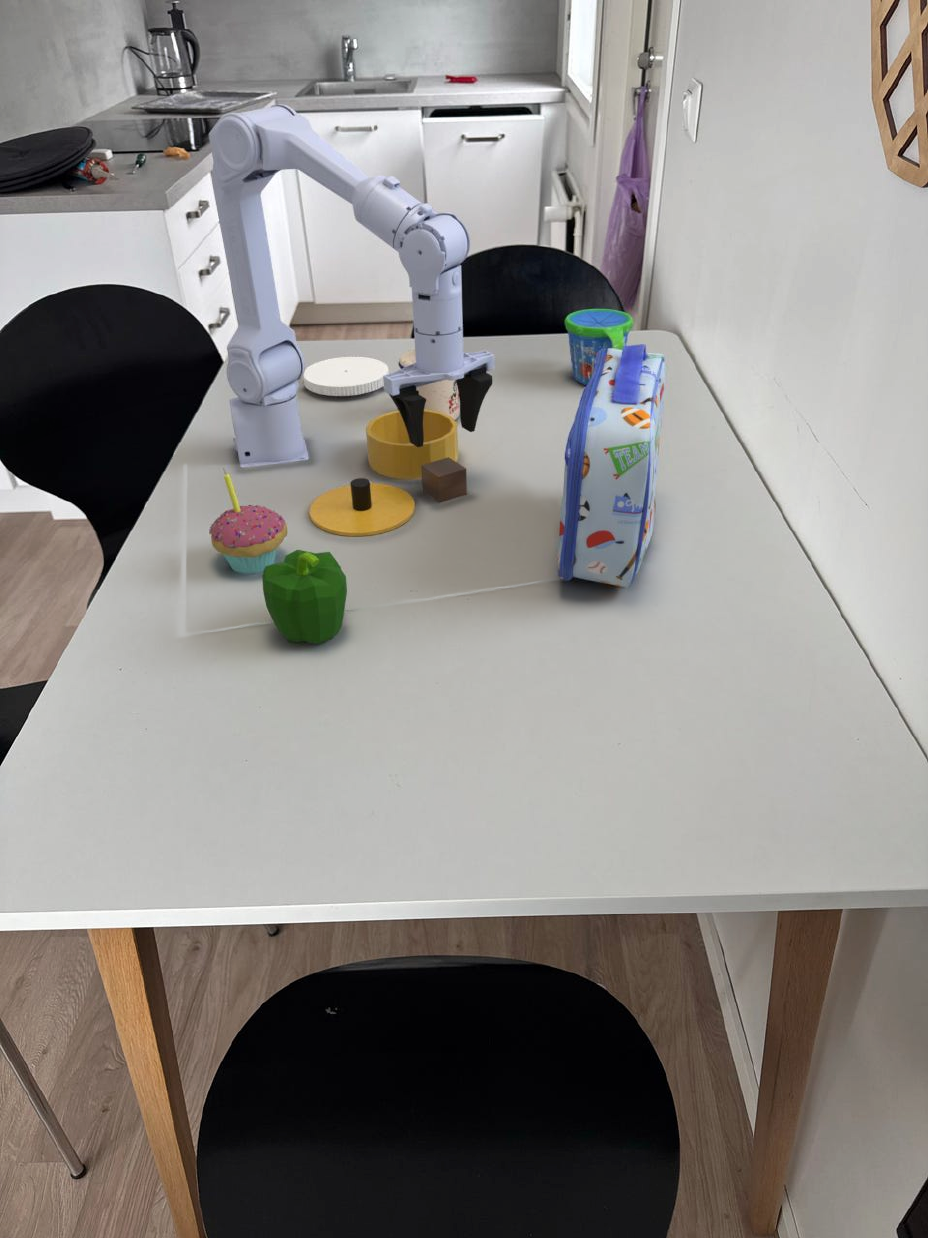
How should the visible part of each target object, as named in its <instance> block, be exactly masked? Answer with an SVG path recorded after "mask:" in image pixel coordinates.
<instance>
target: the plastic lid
mask: <svg viewBox="0 0 928 1238" xmlns="http://www.w3.org/2000/svg"><path fill="white" fill-rule="evenodd" d="M387 374H390V369H389V366H388V365H387V364H386V363H385V362H384V361H382V360H379V359H376V358H372V357H365V356H340V357H333V358H329V359H322V360H320V361H317V362H314V363H312V364H310V365H309V366H307V367H305V371H304V374H303V376H302V378H303V379H302V380H303V385H304V387H305V389H307V390H308V391H310V392H312V393H315V394H318V395H321V396H322V395H324V396H331V397H333V396H334V397H337V396H338V397H349V396H357V395H363V394H367V393H371V392H374V391H377V390H379V389H382V387H384V382H383V375H387Z"/></svg>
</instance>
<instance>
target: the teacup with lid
mask: <svg viewBox="0 0 928 1238" xmlns="http://www.w3.org/2000/svg"><path fill="white" fill-rule="evenodd" d="M415 362H416V358H415V348H414V349H412V350H409V351H406V352H404V353H403V354H402V355H401V356H400V357H399V360H398V367H399V368H400V369H402V368H404V367H406V366H409V365H411V364H413V363H415ZM400 369H399V370H400ZM416 390H417V391H419V395H421V396H422V397H424V398H426V403H425V407H424V410H432V411H436V412H441V413H444V414H446V415H448V416H450V417H452V418H453V419H454V420H455V421H456V420H457V419H458V418H459V417H460V399H459V392H458V387H457V382H456V380H454V381H450V380H443V381H439V382H435V383H431V384H427V385H423V386H420V387H416Z"/></svg>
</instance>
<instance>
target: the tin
mask: <svg viewBox="0 0 928 1238" xmlns="http://www.w3.org/2000/svg"><path fill="white" fill-rule="evenodd" d="M423 434H424V442H423V446H422V447H416V446H415V445H413V444H412V443H410V440H409V436H408V432H407V429H406V426H405V424H404V421H403V419H402V416H401V414H400V412H399V410H393V411H390V412H387V413H383V414H380V415H378V416H377V417H375V418H373V419H371V420H370V421H369V422H368V424H367V426H366V427H365V436H366V447H367V459H368V464H369V466H370V469H371V470H372V471H374V472H376V473H377V474H379V475H380V476H384V477H389V478H392V479H398V480H419V479H421V480H422V471H421V465H424V464H428V463H431V462H434V461H438V460H441V459H444V458H448V457H449V458H451V459H452V460H454V461H455V462H457V463H458V460H459V439H458V437H459V435H458V424H457V422H456V420H454V419H453V418H452V417H450V416H448V415H446V414H444V413H441V412H436V411H432V410H424V414H423Z"/></svg>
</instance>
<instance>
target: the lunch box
mask: <svg viewBox="0 0 928 1238" xmlns="http://www.w3.org/2000/svg"><path fill="white" fill-rule="evenodd" d="M588 377H589V383H588V384H587V385H585V387H584V388H583V392H582V394H581V396H580V400H579V404H578V407H577V409H576V413H575V415H574V420H573V423H572V426H571V428H570V430H569V432H568V436H567V439H566V440H567V441H566V445H565V450H564V459H563V460H564V469H563V470H564V471H563V488H562V497H561V503H560V511H559V512H560V513H559V529H558V531H559V532H558V547H557V568H558V577H560V578H561V580H563V581H565V582H570V581H571V579H572V578H577V579H580V580H585V581H592V582H596V583H601V584H605V585H606V584H608V585H612V586H616V587H621V588H627V589H628V588H629V587H631V586H632V585H633V583H634V580H635V578H636V575H637V574H638V572H639V571H640V568H641V565H642V563H643V560H644V558H645V555H646V552H647V549H648V546H649V544H650V542H651V539H652V537H653V533H654V527H655V521H656V520H655V519H656V507H657V506H656V493H657V492H656V491H657V490H656V489H657V476H658V466H659V465H658V464H659V452H660V438H661V432H662V431H661V430H662V422H663V414H664V404H665V387H666V385H665V384H666V362H665V357H664V354H662V353H657V352H656V353H654V352H653V353H652V352H651V353H650V352H649V353H647V345H646V343H640V344H632V345H626V346H623V350H618V349H614V348H608V349H601V350H599V351H598V353H597V354H596V360H595V363H594V371H593V374H592V376H591V374H590V372H588Z"/></svg>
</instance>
